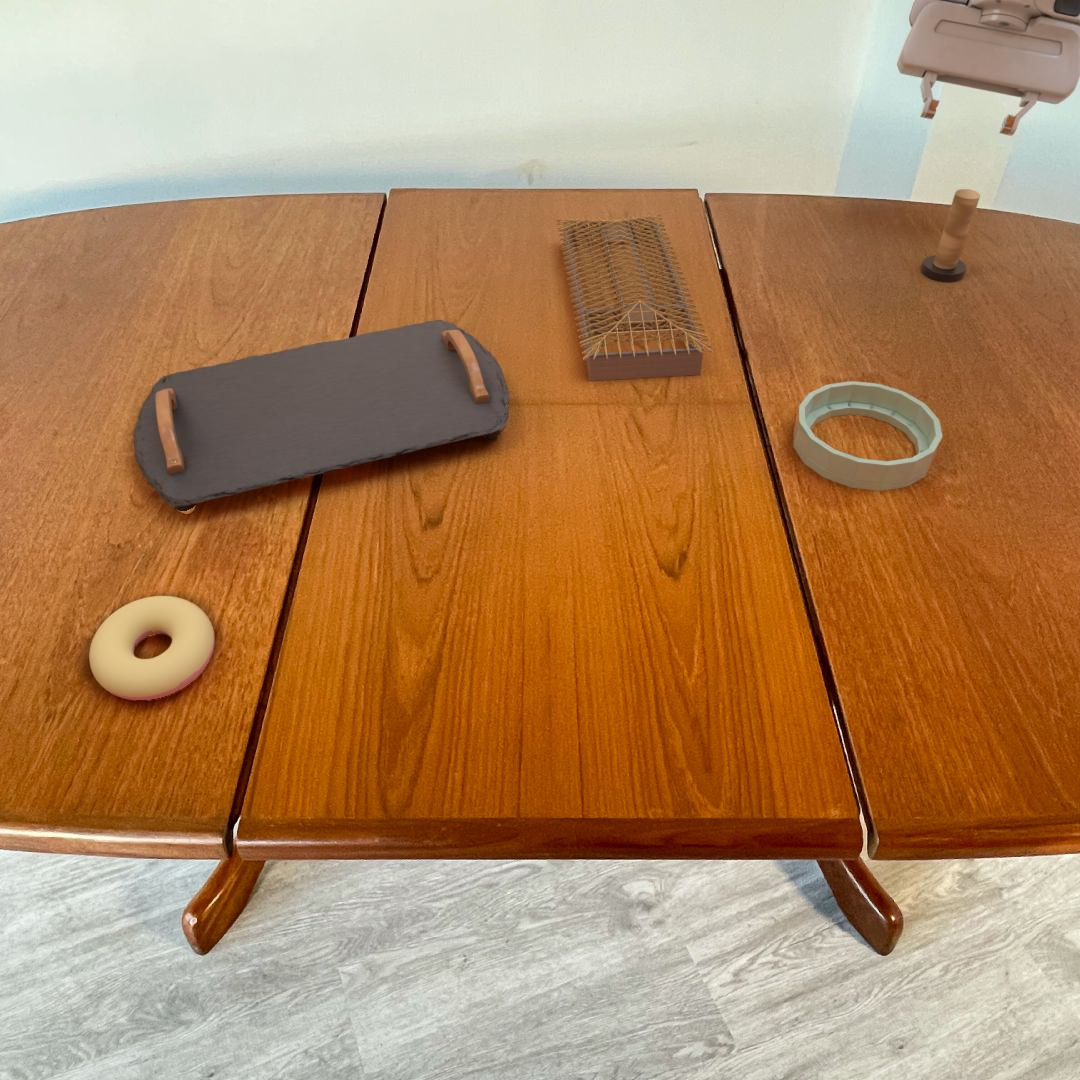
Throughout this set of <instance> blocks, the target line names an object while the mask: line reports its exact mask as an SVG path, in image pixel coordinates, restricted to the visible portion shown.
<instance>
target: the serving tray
mask: <svg viewBox="0 0 1080 1080" xmlns="http://www.w3.org/2000/svg"><path fill="white" fill-rule="evenodd" d="M509 403H510V390H509V387H508V385H507V384H506V378H505V374H504V371H503V369H502V367H501V365H500V363H499V362H498V360H497V359H496V357H495V356H494V355H493V354H492V352H491V351H489V350H488V349H486V348H485V347H484V346H483V344H482V343H481V342H480V341H479V340H478V339H477V338H476V337H475V336H473V335H471V334H470V333H468V332H466V331H465V329H462V328H460V327H458V326H457V325H456V324H454V323H451V322H448V321H446V320H442V319H436V320H427V321H424V322H419V323H414V324H407V325H403V326H400V327H395V328H388V329H382V330H377V331H371V332H367V333H362V334H359V335H355V336H352V337H347V338H343V339H337V340H331V341H322V342H316V343H312V344H306V345H305V344H304V345H300V346H298V347H294V348H289V349H288V348H287V349H284V350H281V351H280V350H279V351H276V352H271V353H263V354H261V355H250V356H247V357H245V358H240V359H237V360H236V359H235V360H233V361H230V362H222V363H217V364H215V365H208V366H201V367H197V368H193V369H187V370H184V371H176V372H173V373H170V374H168V375H164V376H162V377H160V379H159V380H157V382H155V384H154V385H153V386H152V388H151V391H150V393H148V396H147V397H146V398H145V400H144V401H143V403H142V406H141V409H140V410H139V413H138V416H137V422H136V424H135V426H134V428H133V433H132V437H133V448H134V453H133V454H134V460H135V462H136V463H137V464H138V469H139V470H140V472H141V474H142V476H143V477H144V479H145V480H146V483H147V485H149V486H150V487H151V488H153V489H154V491H156V493H157V494H158V495H159V497H160V498H161V500H163V502H165V503H166V504H168V505H169V506H170V507H173V508H174V510H176V509H177V510H179V511H187V510H189V509H191V508H193V507H194V506H195V505H196V503H197V504H199V503H200V504H201V503H204V502H208V501H212V500H215V499H216V500H217V499H220V498H221V499H222V498H225V497H230V496H232V497H233V496H234V495H238V494H242V493H247V492H250V491H254V490H258V489H262V488H266V487H275V486H278V485H280V484H284V483H288V482H290V481H297V480H300V479H304V478H308V477H314V476H319V475H322V474H326V473H329V472H332V471H338V470H341V469H342V470H344V469H348V468H351V467H354V466H358V465H364V464H368V463H371V462H376V461H379V460H385V459H391V458H394V457H397V456H401V455H405V454H410V453H414V452H418V451H421V450H426V449H430V448H434V447H439V446H442V445H443V446H444V445H448V444H450V443H451V444H452V443H455V442H459V441H465V440H468V439H471V438H476V437H480V436H482V437H483V438H484V439H485V440H486V441H488V442H494V441H496V440H498V438H499V436H500V435H501V432H502V430H503V429H504V428H505V426H506V424H507V421H508V419H509V413H510V412H509V411H510V409H509ZM196 506H197V505H196ZM177 510H176V511H177ZM179 511H178V512H179Z"/></svg>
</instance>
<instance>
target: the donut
mask: <svg viewBox="0 0 1080 1080" xmlns="http://www.w3.org/2000/svg"><path fill="white" fill-rule="evenodd" d="M153 634H159V635H164V634H165V636H167V637H170V639H171V643H170V645H169V647H168V648H167V649H166V650H165V651H164V652H162V653H161V654H159V655H157V656H154V657H150V658H139V657H137V656H136V655H135V651H136V648H137V647H138V645H139V644H140V643H141V642H142V641H141V640H142V639H144V638H145V637H147V636H149V635H153ZM153 636H154V635H153ZM144 640H145V639H144ZM140 641H141V642H140ZM139 642H140V643H139ZM215 642H216V641H215V631H214V627H213V624H212V622H211V620H210V618H209V617H208V615H207V614H206V612H205V611H203V609H201V608H200V607H199V606H198V605H197V604H195V603H193V602H191V601H190V600H187V599H185V598H182V597H177V596H172V595H155V596H154V595H153V596H148V597H143V598H140V599H139V598H138V599H136V600H134V601H131V602H129V603H127V604H125V605H122V606H121V607H120V608H118V609H116V610H115V611H114V612H113V613H111V614H110V615H109V616H108V617H107V618H106V619H105V620H104V621H103V622H102V623H101V625H100V626H99V627H98V629H97V630H96V632H95V633H94V635H93V638H92V640H91V643H90V647H89V653H88V659H89V666H90V670H91V674H92V675H93V677H94V678H95V680H96V681H97V683H98V684H99V685H100V686H101V687H102V688H103V689H104V690H106V691H107V692H109V693H110V694H111V695H113V696H116V697H118V698H121V699H124V700H129V701H136V700H147V701H152V700H151V699H155V700H158V699H157V698H160V699H162V698H161V697H164V696H167V695H169V696H171V695H170V694H172V693H174V694H176V693H177V692H176V691H178V690H180V691H182V690H183V689H182V688H184V687H185V686H187V685H188V684H189V685H191V684H192V683H193V682H194V681H196V680H197V679H198V678H199V677H200V676H201V674H202V673H203V672H204V671H205V669H206V668H207V666H208V665H209V663H210V661H211V659H212V656H213V654H214V649H215ZM138 643H139V644H138ZM137 644H138V645H137ZM135 647H136V648H135ZM210 658H211V659H210ZM207 664H208V665H207ZM205 667H206V668H205ZM203 670H204V671H203ZM193 680H194V681H193ZM192 681H193V682H192ZM191 682H192V683H191ZM190 683H191V684H190ZM189 685H188V686H189ZM188 686H187V687H188ZM185 688H186V687H185ZM185 688H184V689H185ZM181 689H182V690H181ZM175 692H176V693H175ZM178 692H179V691H178ZM172 695H173V694H172ZM167 697H168V696H167ZM164 698H165V697H164Z"/></svg>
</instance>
